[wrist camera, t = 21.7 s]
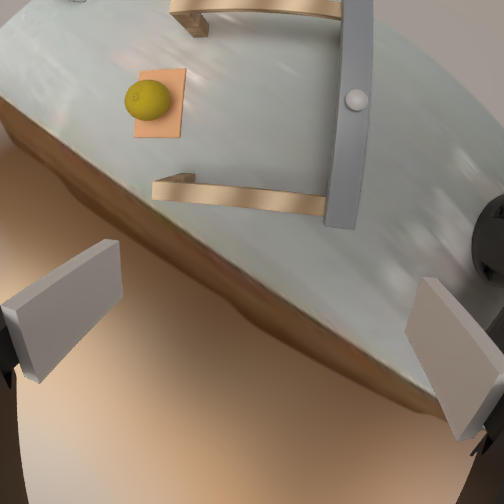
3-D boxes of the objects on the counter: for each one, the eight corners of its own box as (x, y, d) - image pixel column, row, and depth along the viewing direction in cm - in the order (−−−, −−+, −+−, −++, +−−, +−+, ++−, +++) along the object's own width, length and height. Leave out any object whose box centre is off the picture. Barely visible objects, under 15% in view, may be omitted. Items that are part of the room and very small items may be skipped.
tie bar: (368, 3, 24) (375, -9, 21) (350, 225, 32) (356, 233, 29) (341, -2, 24) (345, -15, 21) (322, 221, 32) (326, 229, 29)
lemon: (141, 89, 39) (113, 81, 31) (176, 81, 38) (153, 69, 30) (144, 126, 40) (115, 123, 33) (180, 118, 40) (157, 113, 32)
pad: (186, 69, 38) (185, 68, 37) (180, 137, 41) (179, 137, 40) (141, 71, 38) (140, 71, 38) (135, 137, 41) (134, 137, 41)
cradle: (355, 36, 33) (372, 8, 24) (340, 203, 41) (354, 220, 32) (195, 25, 35) (171, -2, 26) (180, 187, 43) (152, 199, 34)
